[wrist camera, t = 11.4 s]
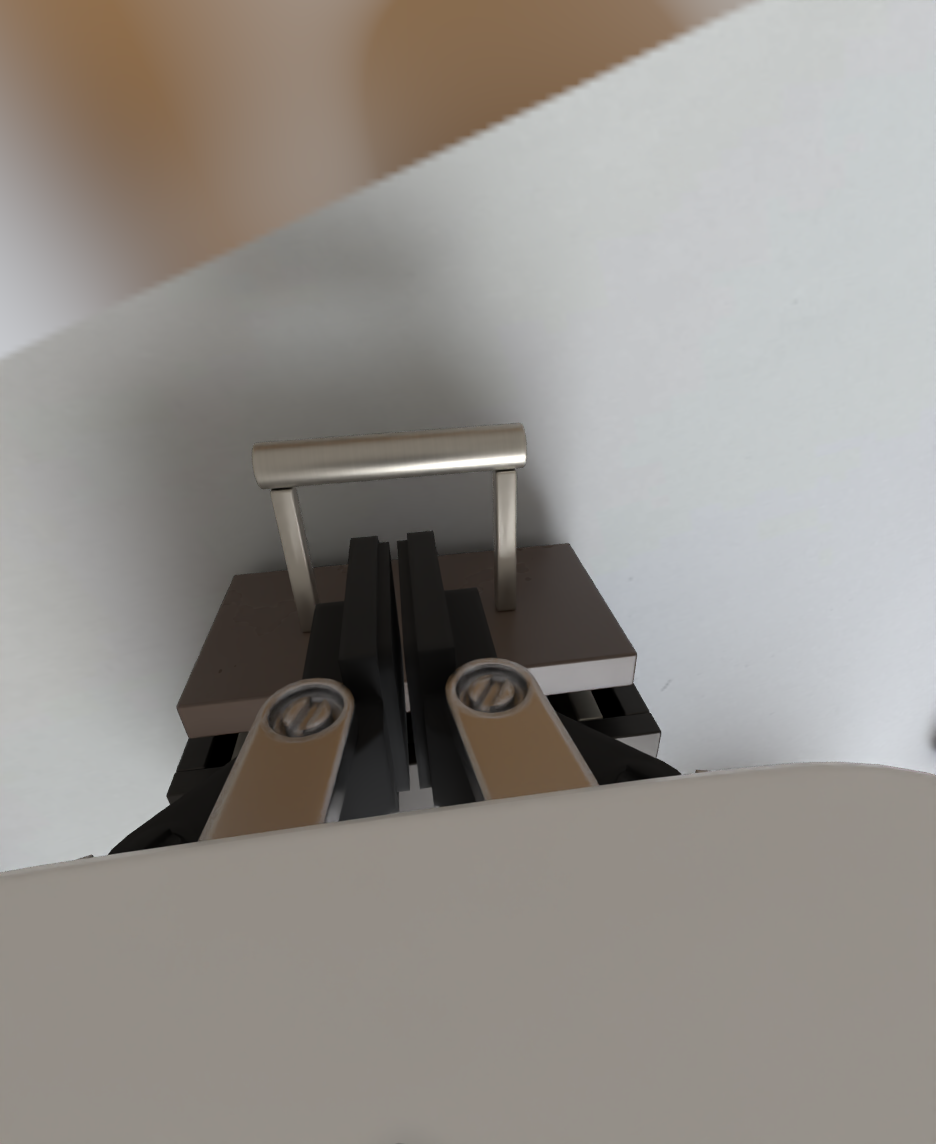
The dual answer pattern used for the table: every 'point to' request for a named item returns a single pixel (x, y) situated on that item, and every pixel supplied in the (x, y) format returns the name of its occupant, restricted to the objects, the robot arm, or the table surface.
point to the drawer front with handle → (502, 576)
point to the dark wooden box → (209, 754)
